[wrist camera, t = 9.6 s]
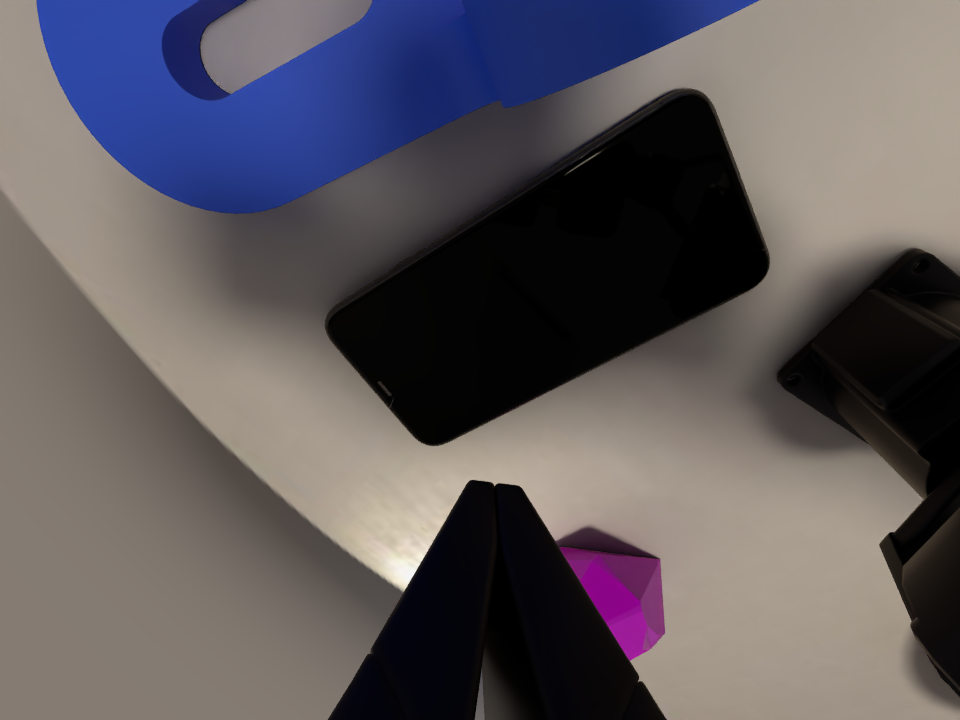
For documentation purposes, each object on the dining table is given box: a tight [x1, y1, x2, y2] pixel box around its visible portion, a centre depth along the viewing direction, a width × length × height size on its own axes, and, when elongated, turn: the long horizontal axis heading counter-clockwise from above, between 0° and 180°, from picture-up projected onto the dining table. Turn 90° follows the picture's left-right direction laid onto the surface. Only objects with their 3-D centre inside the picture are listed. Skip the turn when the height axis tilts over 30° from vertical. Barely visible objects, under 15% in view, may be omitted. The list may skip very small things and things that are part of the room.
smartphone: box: [325, 89, 770, 446], centre depth 19 cm, size 7×1×15 cm
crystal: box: [559, 547, 665, 661], centre depth 25 cm, size 5×5×5 cm
